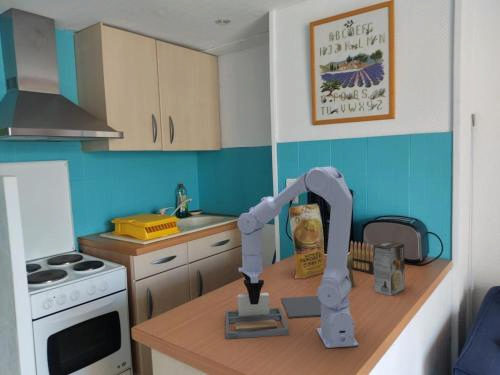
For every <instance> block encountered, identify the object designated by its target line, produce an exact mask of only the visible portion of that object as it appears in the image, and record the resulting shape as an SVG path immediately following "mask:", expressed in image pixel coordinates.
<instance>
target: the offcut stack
mask: <svg viewBox="0 0 500 375" xmlns="http://www.w3.org/2000/svg"><path fill="white" fill-rule="evenodd" d="M278 328H280V327H279V325H278V323H277V322H276V320H264V321H250V322H236V323H234V327H233V330H234V331H249V330H263V329H278ZM234 331H233V332H234Z"/></svg>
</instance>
